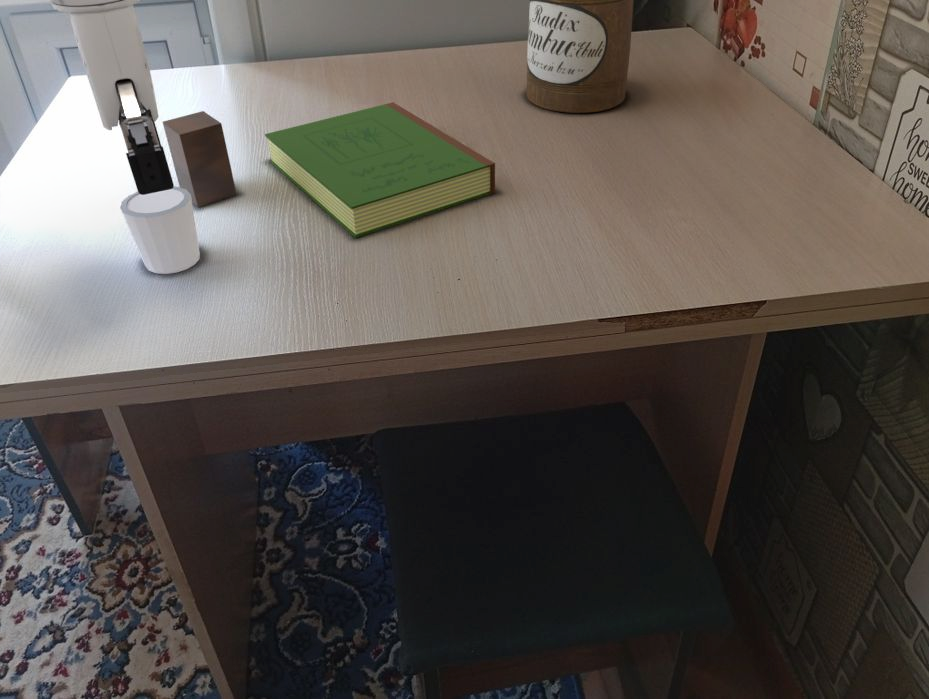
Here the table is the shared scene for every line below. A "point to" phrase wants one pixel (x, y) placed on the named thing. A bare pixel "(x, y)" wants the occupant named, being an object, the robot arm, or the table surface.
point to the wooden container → (578, 54)
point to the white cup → (163, 229)
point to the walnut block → (200, 157)
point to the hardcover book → (379, 167)
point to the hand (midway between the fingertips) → (151, 170)
